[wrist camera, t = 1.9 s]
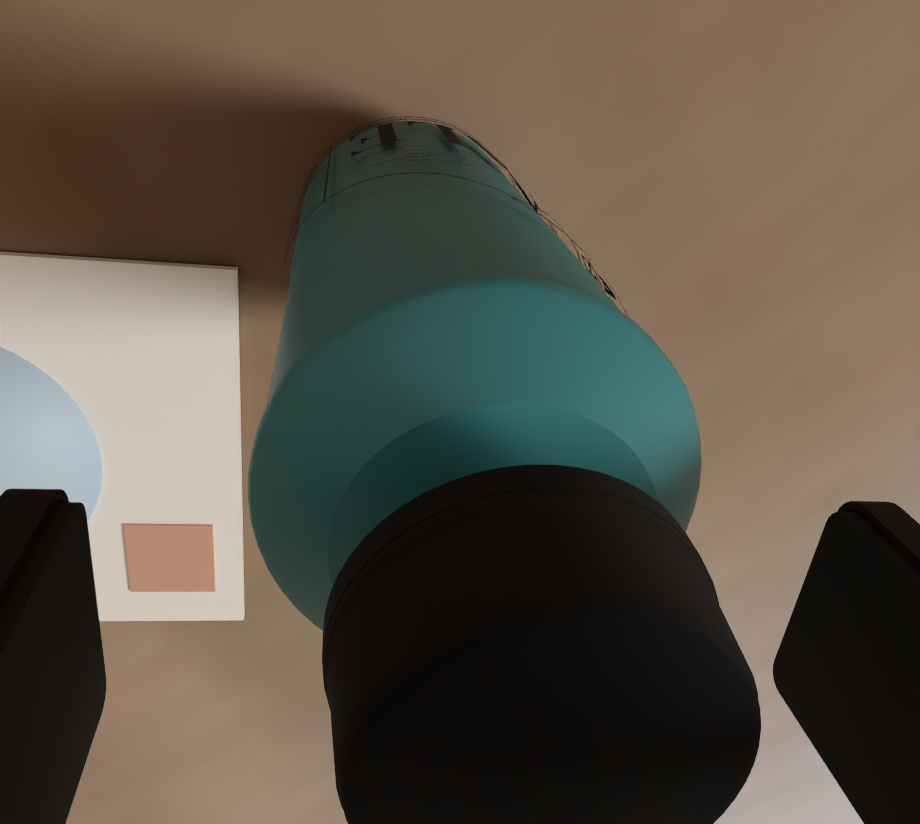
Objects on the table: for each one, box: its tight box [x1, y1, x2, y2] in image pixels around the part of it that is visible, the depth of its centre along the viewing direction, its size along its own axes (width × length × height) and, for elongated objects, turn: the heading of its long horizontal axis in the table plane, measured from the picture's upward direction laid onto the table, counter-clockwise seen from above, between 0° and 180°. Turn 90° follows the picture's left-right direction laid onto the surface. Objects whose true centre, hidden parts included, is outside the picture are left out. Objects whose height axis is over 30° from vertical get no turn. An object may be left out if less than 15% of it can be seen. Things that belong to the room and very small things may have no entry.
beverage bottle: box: [248, 116, 761, 824], centre depth 16 cm, size 6×7×20 cm
